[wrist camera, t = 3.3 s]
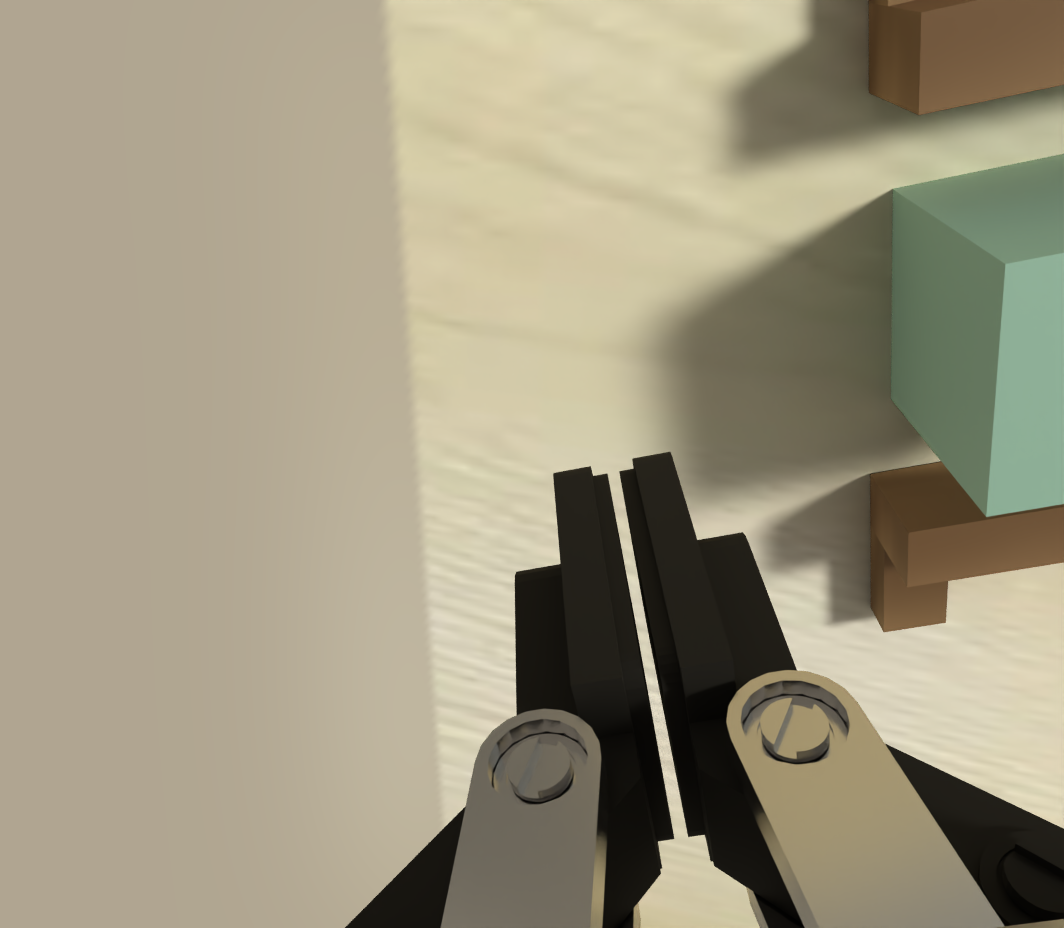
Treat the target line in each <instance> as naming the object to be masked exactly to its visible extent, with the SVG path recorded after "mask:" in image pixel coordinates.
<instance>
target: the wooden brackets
mask: <svg viewBox="0 0 1064 928" xmlns="http://www.w3.org/2000/svg"><path fill="white" fill-rule="evenodd" d="M1059 85H1064V0H869V93H870V94H873V95H875V96H877V97H879V98H882V99H884V100H886V101H888V102H891V103H893V104H895V105H897V106H900V107H902V108H904V109H906V110H909V111H911V112H913V113H915V114H918V115H921V114H926V113H931V112H936V111H940V110H945V109H950V108H955V107H960V106H964V105H969V104H974V103H979V102H983V101H988V100H993V99H998V98H1002V97H1007V96H1012V95H1017V94H1021V93H1026V92H1031V91H1036V90H1040V89H1045V88H1050V87H1055V86H1059ZM870 526H871V609H872V611H873V613H874V615H875V616H876V618H877V620H878V622H879V624H880V626H881V628H882V630H883V632H889V631H895V630H901V629H908V628H914V627H921V626H927V625H933V624H940V623H946V608H947V589H948V581H950V580H956V579H963V578H969V577H975V576H981V575H988V574H994V573H1000V572H1006V571H1013V570H1019V569H1025V568H1031V567H1038V566H1044V565H1050V564H1056V563H1063V562H1064V504H1060V505H1054V506H1049V507H1043V508H1037V509H1031V510H1025V511H1019V512H1013V513H1007V514H1001V515H995V516H989V517H986V516H985V515H984V514H983V512H982V511H981V510H980V509H979V507H978V506H977V505H976V504H975V502H974V501H973V500H972V499H971V498H970V496H969V495H968V494H967V493H966V491H965V490H964V489H963V488H962V486H961V485H960V484H959V483H958V481H957V480H956V479H955V478H954V477H953V475H952V474H951V473H950V472H949V470H948V469H947V468H946V467H945V465H944V464H943V463H942V462H937V463H932V464H926V465H920V466H914V467H909V468H903V469H897V470H891V471H885V472H880V473H874V474H870Z"/></svg>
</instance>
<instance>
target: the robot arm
mask: <svg viewBox="0 0 1064 928" xmlns="http://www.w3.org/2000/svg"><path fill="white" fill-rule="evenodd" d="M633 467H634V469H630V470H624V471H619V472H620V478H621V483H622V489H623V495H624V500H625V506H626V511H627V517H628V523H629V528H630V534H631V539H632V545H633V551H634V556H635V562H636V567H637V573H638V579H639V584H640V590H641V595H642V601H643V607H644V612H645V618H646V623H647V628H648V633H649V639H650V644H651V649H652V654H653V659H654V664H655V669H656V674H657V680H658V685H659V690H660V695H661V700H662V705H663V710H664V715H665V720H666V726H667V731H668V736H669V741H670V746H671V751H672V756H673V761H674V766H675V772H676V777H677V782H678V787H679V792H680V797H681V802H682V807H683V812H684V818H685V823H686V828H687V833H688V837H691V836H698V835H705V837H706V842H707V846H708V851H709V856H710V860H711V861H713V862H714V866H715V867H717V868H718V869H720V870H721V871H723V872H724V873H726V874H727V875H729V876H730V877H732V878H733V879H735V880H737V881H738V882H740V883H741V884H743V885H744V886H746V888H747V892H748V896H749V901H750V904H751V907H752V909H753V912H754V914H755V917H756V919H757V922H758V924H759V926H760V928H1064V829H1063V828H1061V827H1059V826H1057V825H1055V824H1053V823H1050V822H1048V821H1046V820H1044V819H1042V818H1040V817H1038V816H1036V815H1034V814H1032V813H1029V812H1027V811H1025V810H1023V809H1021V808H1019V807H1017V806H1015V805H1013V804H1011V803H1008V802H1006V801H1004V800H1002V799H1000V798H998V797H996V796H994V795H992V794H990V793H987V792H985V791H983V790H981V789H979V788H977V787H975V786H973V785H971V784H969V783H966V782H964V781H962V780H960V779H958V778H956V777H954V776H952V775H950V774H948V773H945V772H943V771H941V770H939V769H937V768H935V767H933V766H931V765H929V764H927V763H925V762H922V761H920V760H918V759H916V758H914V757H912V756H910V755H908V754H906V753H904V752H901V751H899V750H897V749H895V748H893V747H891V746H889V745H887V744H885V743H884V742H883V740H882V739H881V737H880V736H879V734H878V733H877V731H876V730H875V728H874V727H873V725H872V724H871V722H870V721H869V719H868V718H867V716H866V715H865V713H864V711H863V710H862V708H861V707H860V705H859V704H858V702H857V701H856V700H855V699H854V698H853V697H852V696H851V695H850V694H849V692H848V691H847V690H846V689H845V688H843V687H842V686H840V685H839V684H837V683H835V682H834V681H832V680H830V679H829V678H827V677H824V676H820V675H817V674H814V673H811V672H808V671H797V669H796V667H795V664H794V661H793V659H792V656H791V654H790V651H789V648H788V646H787V643H786V640H785V638H784V635H783V632H782V630H781V627H780V625H779V622H778V619H777V617H776V614H775V611H774V609H773V606H772V603H771V601H770V598H769V596H768V593H767V590H766V588H765V585H764V582H763V580H762V577H761V574H760V572H759V569H758V567H757V564H756V561H755V559H754V556H753V553H752V551H751V548H750V545H749V543H748V541H747V538H746V536H745V535H744V534H743V532H742V533H737V534H731V535H725V536H719V537H714V538H708V539H702V540H697V538H696V534H695V531H694V528H693V524H692V521H691V518H690V514H689V511H688V508H687V504H686V501H685V498H684V494H683V491H682V488H681V485H680V481H679V478H678V475H677V471H676V468H675V465H674V461H673V458H672V455H671V452H666V453H661V454H655V455H650V456H644V457H639V458H633ZM553 476H554V489H555V501H556V513H557V525H558V537H559V549H560V561H561V564H559V565H553V566H547V567H541V568H536V569H530V570H524V571H519V572H516V574H515V630H516V703H517V716H514V717H512V718H510V719H508V720H506V721H505V722H504V723H502V724H501V725H500V726H498V727H497V728H496V729H494V730H493V731H492V732H491V734H490V735H489V736H488V737H487V739H486V740H485V741H484V742H483V744H482V745H481V747H480V750H479V753H478V755H477V758H476V760H475V764H474V769H473V774H472V779H471V783H470V788H469V793H468V798H467V803H466V806H465V807H464V808H463V809H462V810H461V811H460V812H459V814H458V815H457V816H456V817H455V818H454V819H453V820H452V821H451V822H450V823H449V824H448V825H447V826H446V827H445V828H444V829H443V830H442V831H441V832H440V833H439V834H438V835H437V836H436V837H435V838H434V839H433V840H432V841H431V842H430V843H429V844H428V845H427V846H426V847H425V848H424V849H423V850H422V851H421V852H420V853H419V854H418V855H417V856H416V857H415V858H414V859H413V860H412V861H411V862H410V863H409V864H408V865H407V866H406V867H405V868H404V869H403V870H402V871H401V872H400V873H399V874H398V875H397V876H396V877H395V878H394V879H393V880H392V881H391V882H390V883H389V884H388V885H387V886H386V887H385V888H384V889H383V890H382V891H381V892H380V893H379V894H378V895H377V896H376V897H375V898H374V899H373V900H372V901H371V902H370V903H369V904H368V905H367V907H365V908H364V909H363V910H362V911H361V912H360V913H359V914H358V915H357V916H356V917H355V918H354V919H353V920H352V921H351V922H350V923H349V924H348V926H346V927H345V928H640V926H641V918H640V911H639V904H638V902H639V901H640V899H641V898H642V897H643V896H644V894H645V893H646V892H647V890H648V889H649V888H650V887H651V885H652V884H653V883H654V882H655V880H656V879H657V878H658V876H659V875H660V874H661V871H660V869H661V868H662V865H661V859H660V853H659V846H658V841H664V840H670V839H674V834H673V829H672V823H671V818H670V812H669V807H668V801H667V795H666V790H665V784H664V779H663V773H662V768H661V762H660V757H659V751H658V745H657V740H656V734H655V729H654V723H653V718H652V712H651V707H650V701H649V696H648V690H647V684H646V679H645V673H644V668H643V662H642V657H641V651H640V646H639V640H638V635H637V629H636V624H635V618H634V613H633V608H632V602H631V597H630V592H629V586H628V581H627V576H626V570H625V565H624V560H623V554H622V549H621V544H620V538H619V533H618V528H617V522H616V517H615V512H614V506H613V501H612V496H611V490H610V485H609V480H608V475H607V474H602V475H597V476H593V474H592V470H591V466H590V467H584V468H579V469H574V470H568V471H563V472H557V473H554V474H553Z"/></svg>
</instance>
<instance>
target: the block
mask: <svg viewBox="0 0 1064 928" xmlns="http://www.w3.org/2000/svg"><path fill="white" fill-rule="evenodd" d="M891 400H892V401H893V402H894V404H895V405H896V406H897V407H898V409H899V410H900V411H901V412H902V413H903V415H904V416H905V417H906V418H907V420H908V421H909V422H910V423H911V425H912V426H913V427H914V428H915V430H916V431H917V432H918V433H919V434H920V436H921V437H922V438H923V439H924V441H925V442H926V443H927V444H928V446H929V447H930V448H931V449H932V451H933V452H934V453H935V454H936V456H937V457H938V458H939V459H940V460H941V462H942V463H943V464H944V465H945V467H946V468H947V469H948V470H949V472H950V473H951V474H952V475H953V477H954V478H955V479H956V480H957V481H958V483H959V484H960V485H961V486H962V488H963V489H964V490H965V491H966V493H967V494H968V495H969V496H970V498H971V499H972V500H973V501H974V502H975V504H976V505H977V506H978V507H979V509H980V510H981V511H982V512H983V514H984V515H985V516H986V517H989V516H995V515H1001V514H1007V513H1013V512H1019V511H1025V510H1031V509H1037V508H1043V507H1049V506H1054V505H1060V504H1064V154H1061V155H1056V156H1051V157H1047V158H1042V159H1037V160H1032V161H1027V162H1022V163H1017V164H1012V165H1008V166H1003V167H998V168H993V169H988V170H983V171H978V172H973V173H968V174H964V175H959V176H954V177H949V178H944V179H939V180H934V181H929V182H925V183H920V184H915V185H910V186H905V187H900V188H895V189H893V218H892V340H891Z"/></svg>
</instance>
